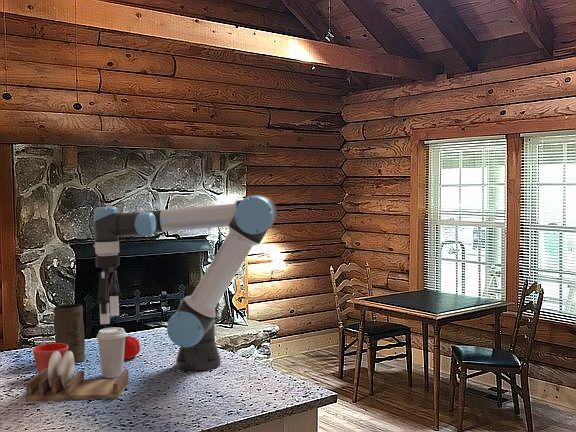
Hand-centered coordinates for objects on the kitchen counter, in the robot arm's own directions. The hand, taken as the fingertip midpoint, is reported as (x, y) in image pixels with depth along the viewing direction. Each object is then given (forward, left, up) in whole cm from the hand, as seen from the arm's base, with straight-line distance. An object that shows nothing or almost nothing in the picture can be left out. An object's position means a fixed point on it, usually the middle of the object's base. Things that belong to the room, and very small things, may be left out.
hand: (110, 319), depth 204 cm
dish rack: (+6, +16, -19) cm, 25 cm away
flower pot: (+20, -1, -19) cm, 27 cm away
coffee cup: (0, 0, -19) cm, 19 cm away
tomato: (0, -22, -19) cm, 29 cm away
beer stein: (+22, -22, -19) cm, 36 cm away
